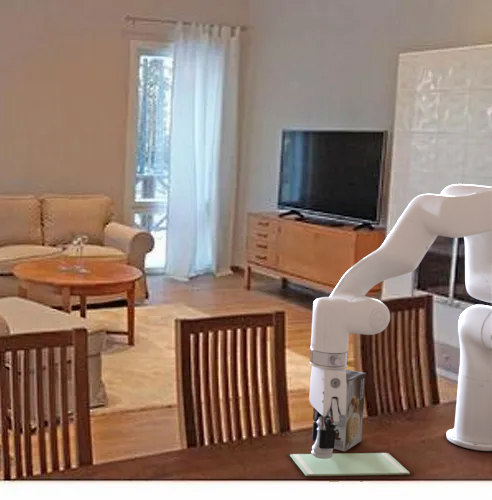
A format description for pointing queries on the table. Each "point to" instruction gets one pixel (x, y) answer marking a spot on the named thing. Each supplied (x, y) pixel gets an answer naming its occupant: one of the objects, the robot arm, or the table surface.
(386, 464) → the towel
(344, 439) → the coffee box
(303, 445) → the table surface
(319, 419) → the rook chess piece
